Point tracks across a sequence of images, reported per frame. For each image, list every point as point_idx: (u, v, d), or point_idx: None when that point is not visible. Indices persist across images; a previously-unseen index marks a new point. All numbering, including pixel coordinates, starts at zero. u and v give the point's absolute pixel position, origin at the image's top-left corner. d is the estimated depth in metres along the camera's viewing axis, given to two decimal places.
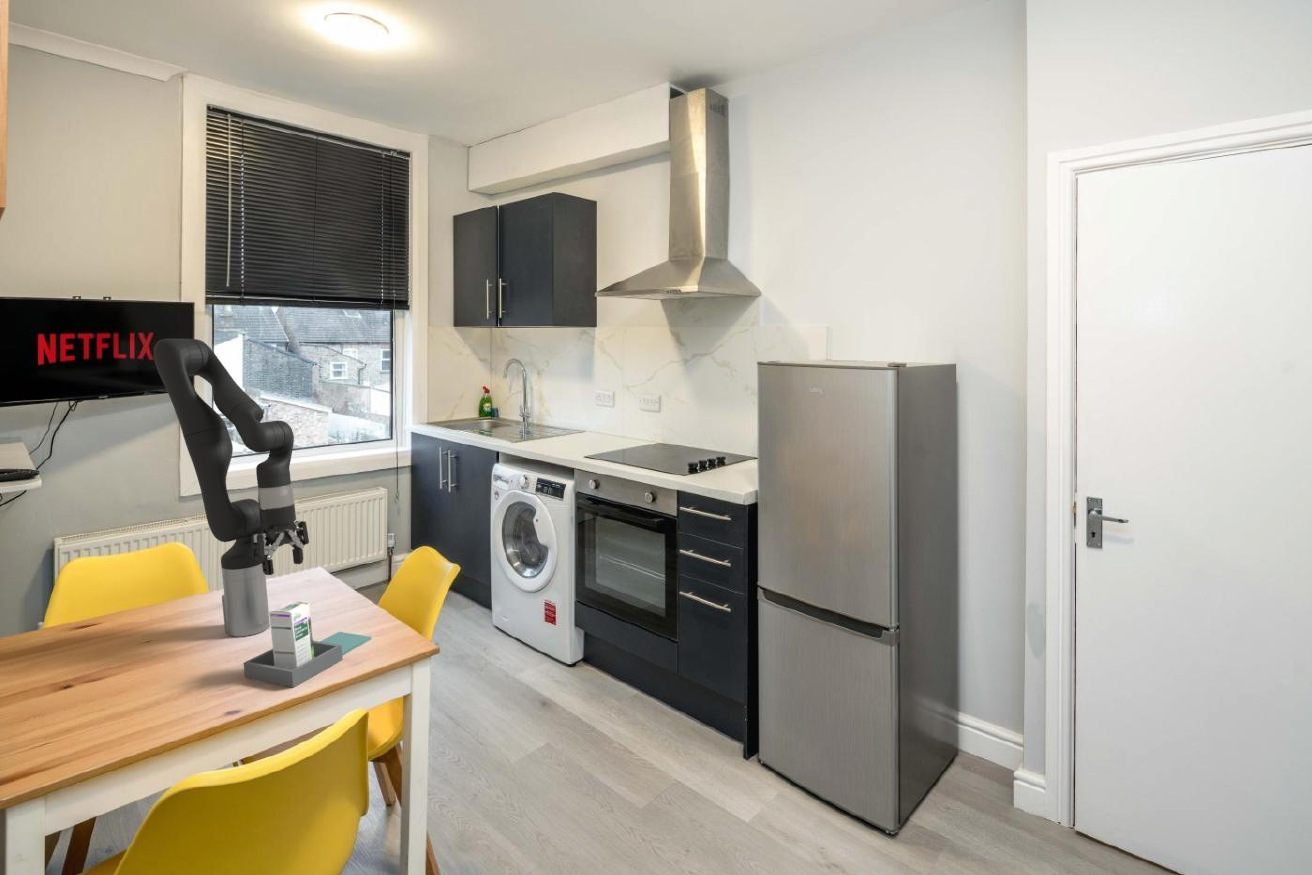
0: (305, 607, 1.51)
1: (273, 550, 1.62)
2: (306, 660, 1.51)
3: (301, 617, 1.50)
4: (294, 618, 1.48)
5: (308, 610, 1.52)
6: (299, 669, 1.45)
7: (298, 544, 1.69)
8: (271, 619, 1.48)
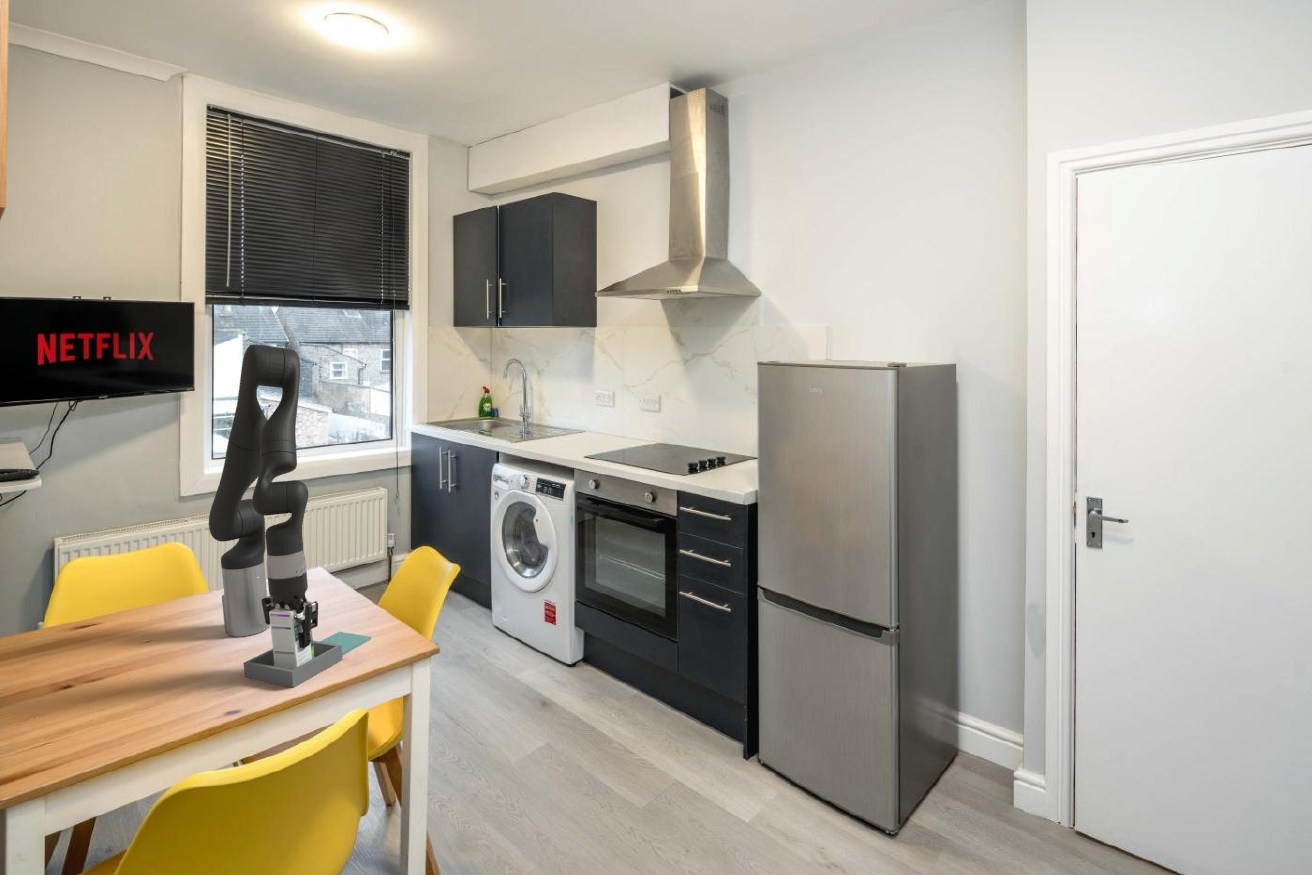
0: None
1: None
2: (306, 660, 1.51)
3: None
4: None
5: None
6: (299, 669, 1.45)
7: None
8: (271, 619, 1.48)
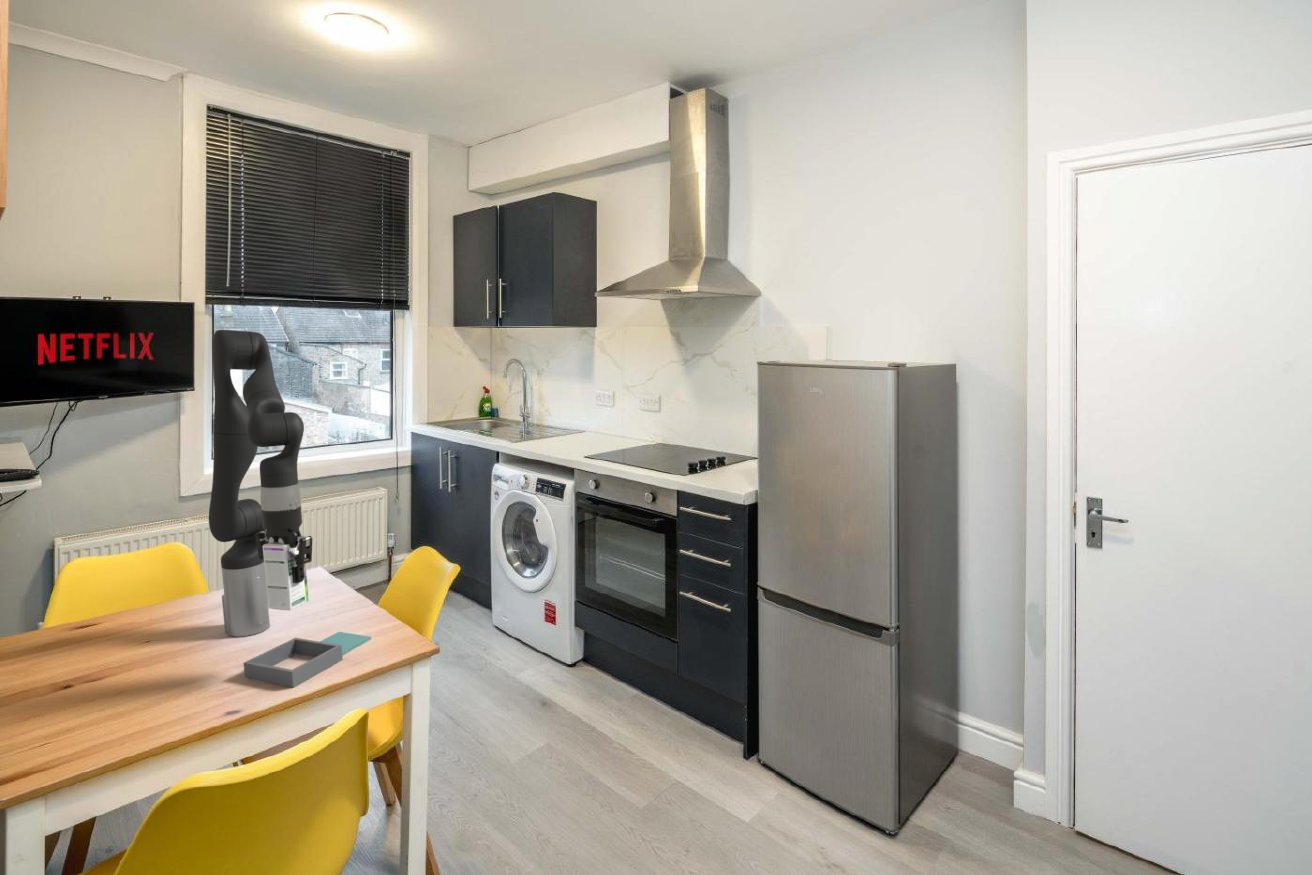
0: None
1: None
2: (300, 596, 1.49)
3: None
4: (287, 552, 1.46)
5: None
6: (299, 669, 1.45)
7: None
8: (264, 553, 1.46)
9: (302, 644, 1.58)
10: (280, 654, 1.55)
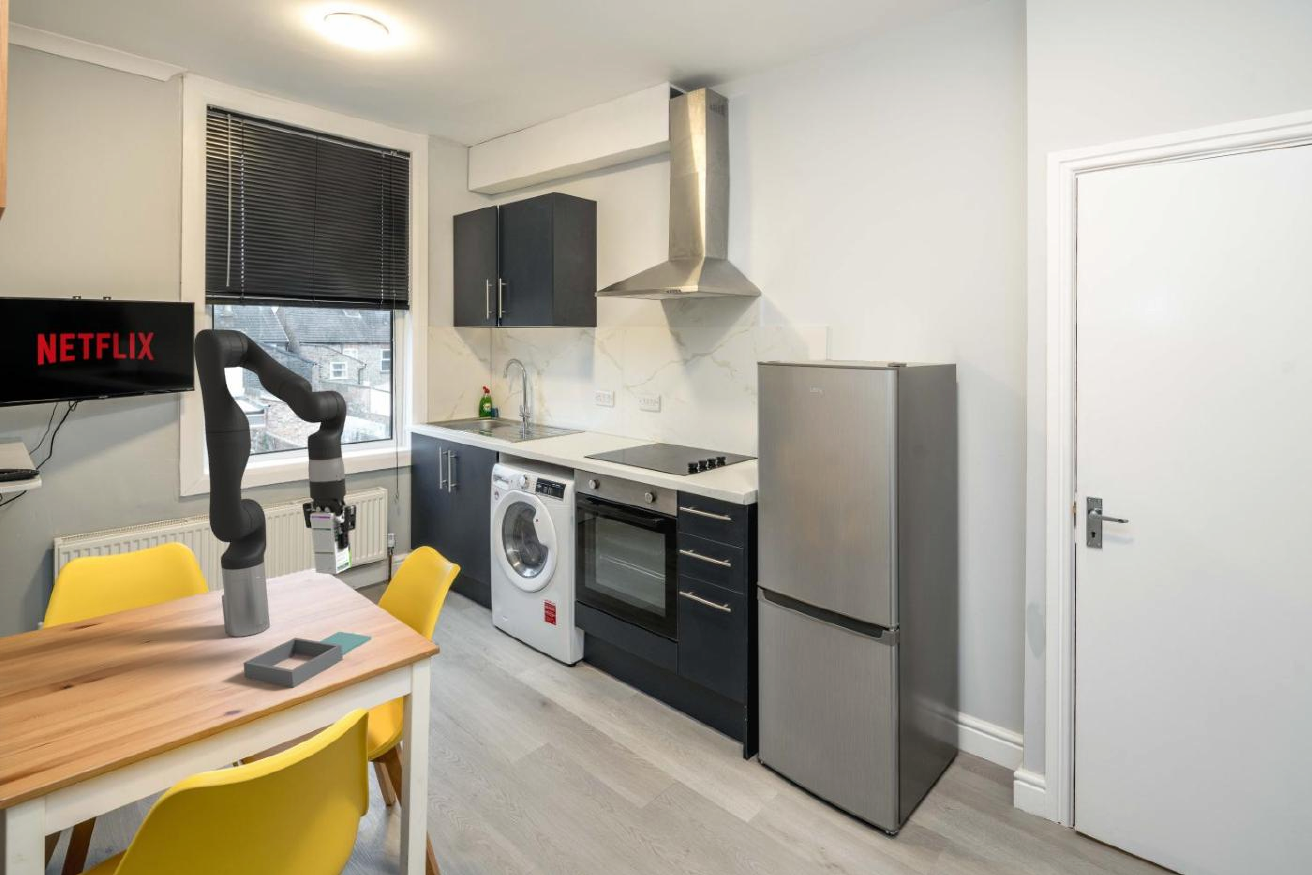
0: None
1: None
2: (344, 561, 1.61)
3: None
4: (333, 520, 1.57)
5: None
6: (299, 669, 1.45)
7: None
8: (312, 521, 1.58)
9: (302, 644, 1.58)
10: (280, 654, 1.55)
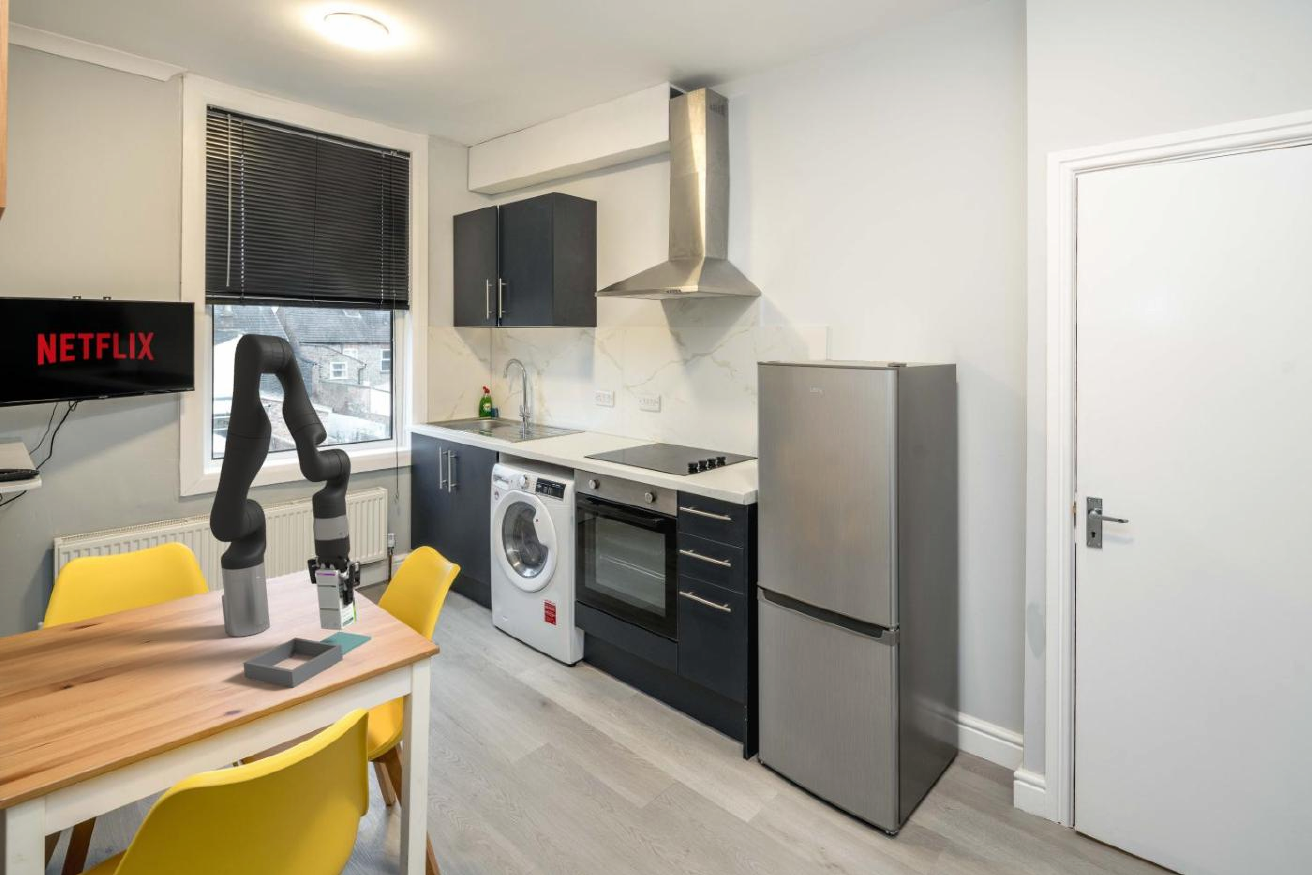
0: None
1: None
2: (349, 616, 1.63)
3: None
4: (338, 577, 1.59)
5: None
6: (299, 669, 1.45)
7: None
8: (317, 578, 1.60)
9: (302, 644, 1.58)
10: (280, 654, 1.55)
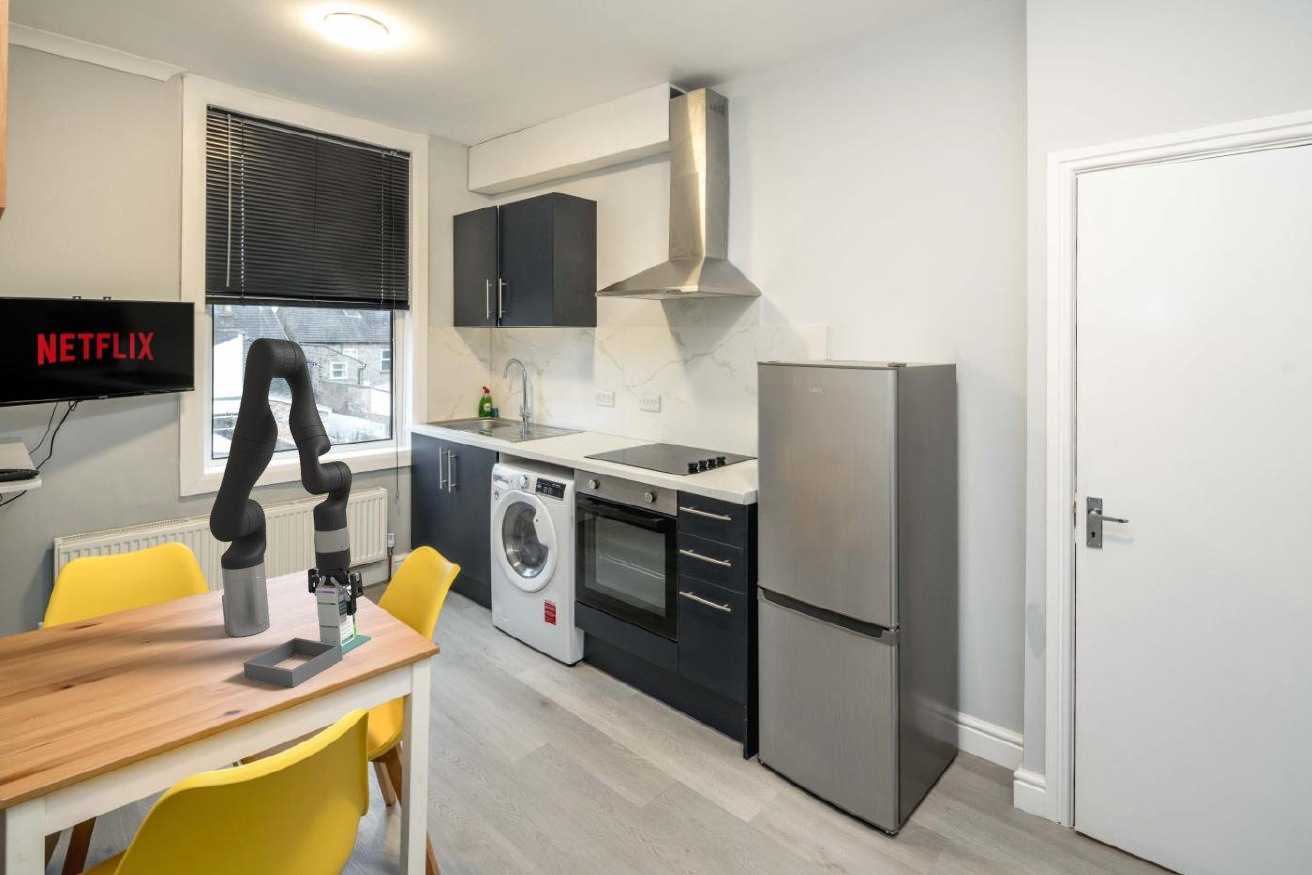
0: None
1: None
2: (349, 634, 1.63)
3: None
4: (338, 594, 1.60)
5: None
6: (299, 669, 1.45)
7: None
8: (317, 595, 1.60)
9: (302, 644, 1.58)
10: (280, 654, 1.55)
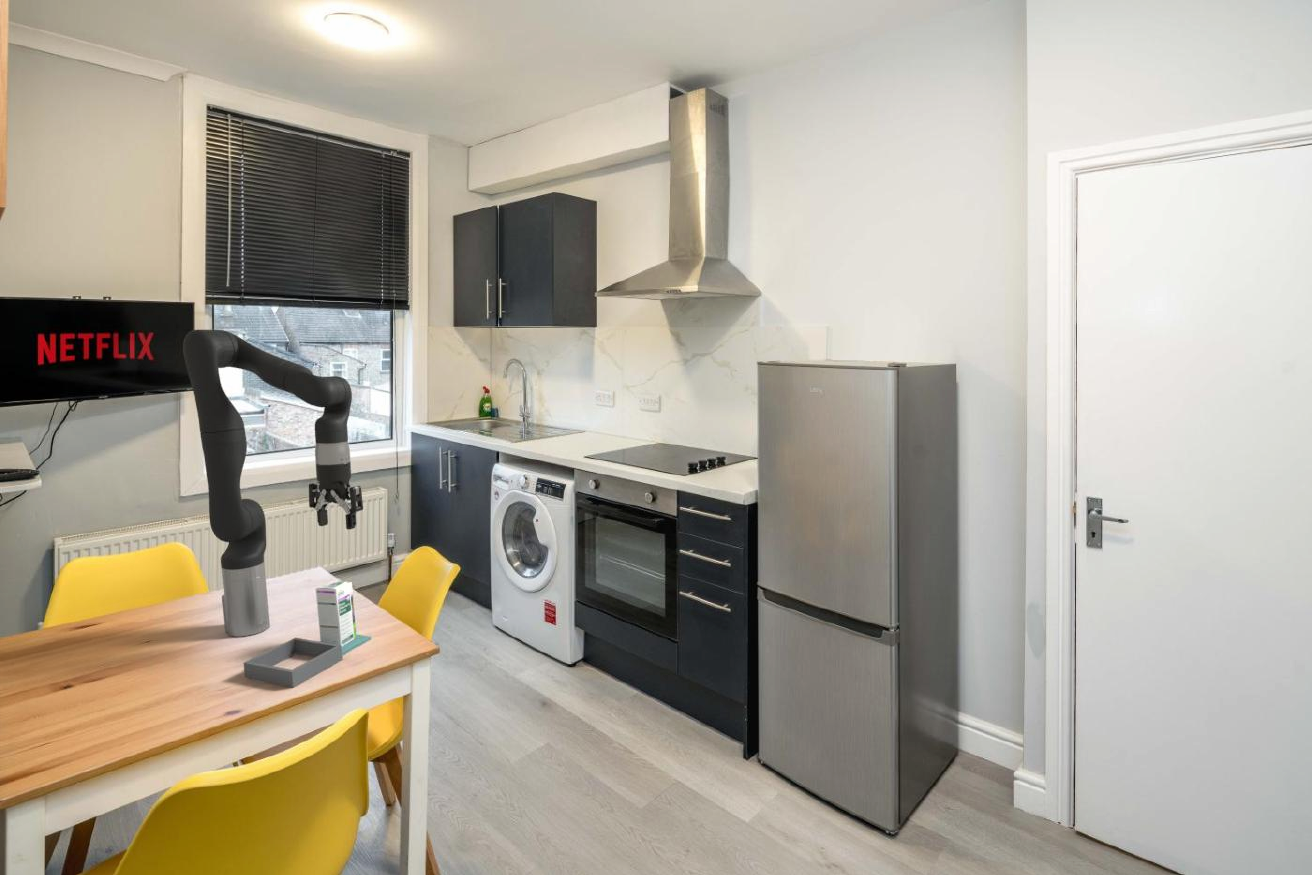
0: (348, 585, 1.63)
1: None
2: (349, 634, 1.63)
3: (344, 594, 1.62)
4: (338, 594, 1.60)
5: (351, 588, 1.64)
6: (299, 669, 1.45)
7: None
8: (317, 595, 1.60)
9: (302, 644, 1.58)
10: (280, 654, 1.55)
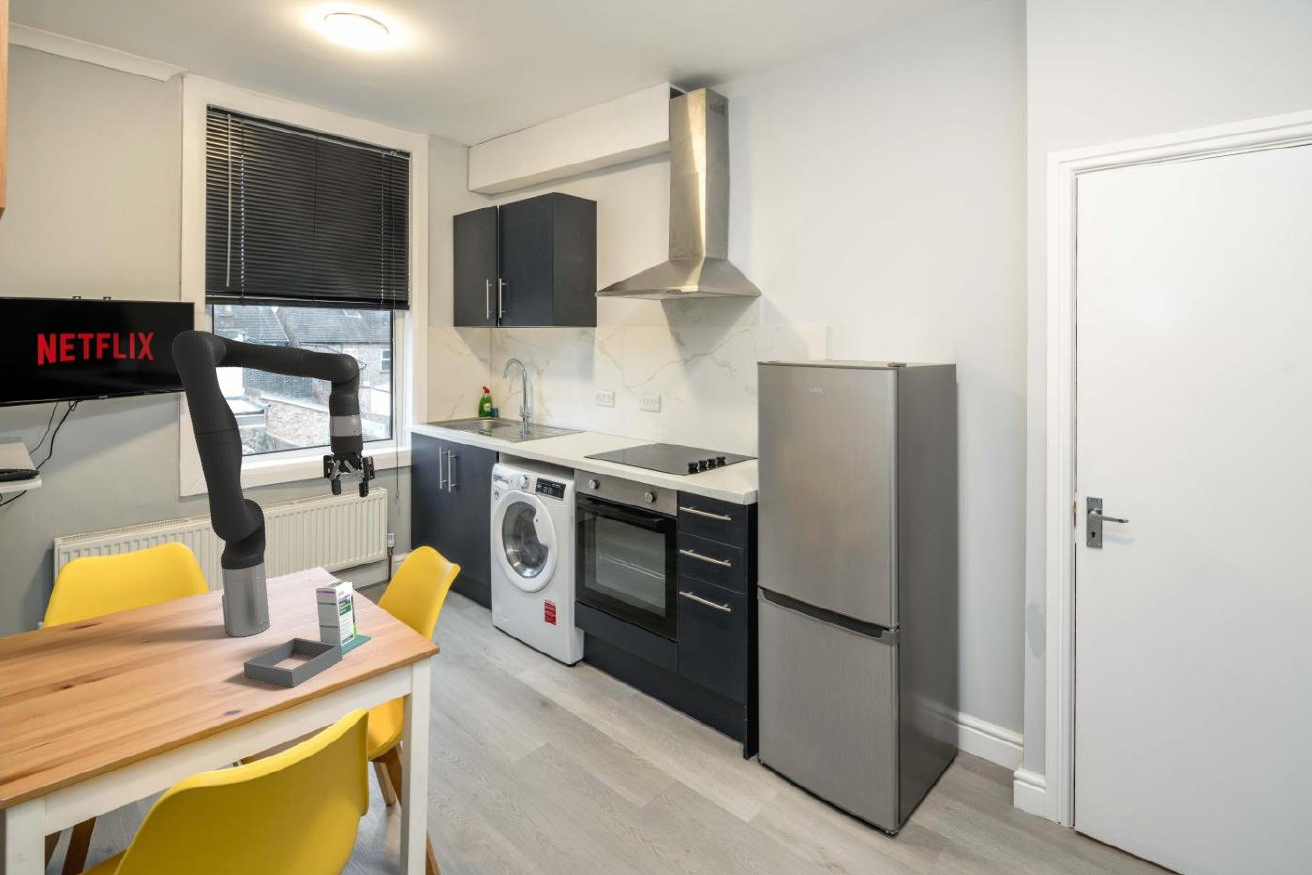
0: (348, 585, 1.63)
1: None
2: (349, 634, 1.63)
3: (344, 594, 1.62)
4: (338, 594, 1.60)
5: (351, 588, 1.64)
6: (299, 669, 1.45)
7: None
8: (317, 595, 1.60)
9: (302, 644, 1.58)
10: (280, 654, 1.55)
